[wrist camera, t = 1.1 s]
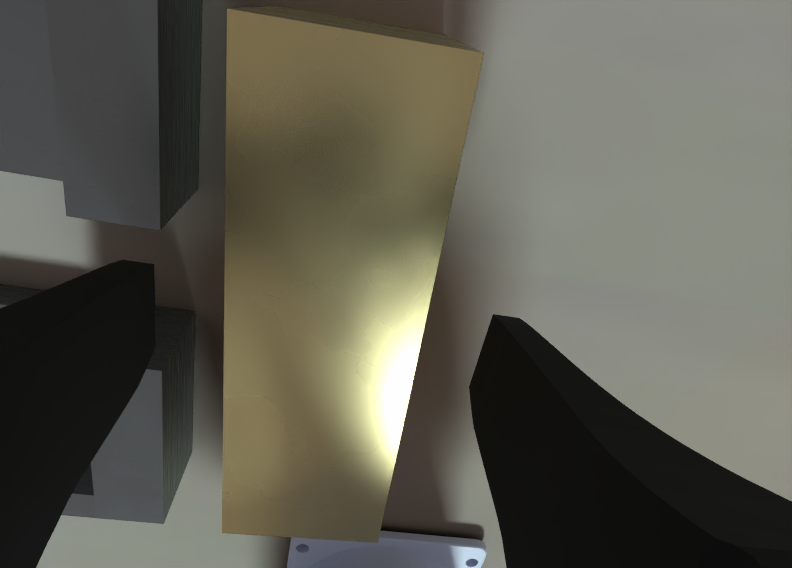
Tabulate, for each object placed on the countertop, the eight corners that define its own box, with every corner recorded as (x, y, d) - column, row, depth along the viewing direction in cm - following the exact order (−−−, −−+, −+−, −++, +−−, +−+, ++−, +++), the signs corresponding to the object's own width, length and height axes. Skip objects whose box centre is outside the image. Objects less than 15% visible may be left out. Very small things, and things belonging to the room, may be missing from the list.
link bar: (375, 403, 19) (377, 542, 14) (261, 392, 18) (222, 533, 13) (442, 34, 13) (483, 53, 8) (281, 5, 13) (227, 8, 8)
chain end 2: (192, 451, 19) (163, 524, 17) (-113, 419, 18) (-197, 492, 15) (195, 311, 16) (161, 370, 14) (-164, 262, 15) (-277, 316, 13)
